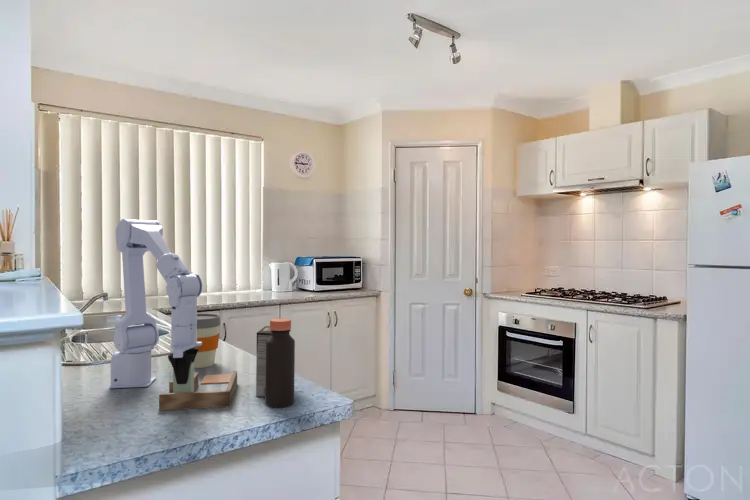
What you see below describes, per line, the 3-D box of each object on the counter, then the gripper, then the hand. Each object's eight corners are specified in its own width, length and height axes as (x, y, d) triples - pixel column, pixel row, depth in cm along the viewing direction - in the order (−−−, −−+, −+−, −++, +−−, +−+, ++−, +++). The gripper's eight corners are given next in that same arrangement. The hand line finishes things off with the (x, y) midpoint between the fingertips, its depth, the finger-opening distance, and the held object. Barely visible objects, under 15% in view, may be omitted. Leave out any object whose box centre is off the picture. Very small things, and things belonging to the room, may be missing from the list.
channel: (159, 410, 110) (159, 394, 110) (176, 386, 129) (176, 373, 129) (229, 406, 113) (229, 391, 113) (237, 383, 132) (237, 370, 132)
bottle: (259, 406, 114) (260, 321, 114) (275, 397, 120) (276, 317, 120) (284, 409, 112) (285, 323, 111) (299, 400, 118) (300, 318, 118)
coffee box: (264, 385, 130) (264, 325, 130) (288, 386, 130) (288, 326, 130) (254, 396, 121) (255, 332, 121) (280, 397, 121) (281, 332, 121)
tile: (200, 384, 131) (200, 383, 131) (205, 376, 139) (205, 375, 139) (231, 382, 132) (231, 381, 132) (234, 374, 140) (234, 373, 140)
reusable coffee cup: (220, 358, 160) (220, 312, 159) (220, 368, 148) (220, 318, 147) (178, 361, 156) (179, 314, 155) (176, 371, 144) (176, 320, 143)
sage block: (173, 396, 114) (173, 366, 114) (176, 391, 118) (176, 362, 118) (190, 395, 115) (191, 365, 115) (194, 390, 119) (194, 361, 119)
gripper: (196, 329, 110) (196, 389, 110) (206, 319, 124) (206, 372, 124) (163, 330, 109) (163, 390, 109) (177, 319, 123) (177, 373, 123)
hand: (183, 380), depth 117 cm, fingers closed on sage block, 4 cm apart
